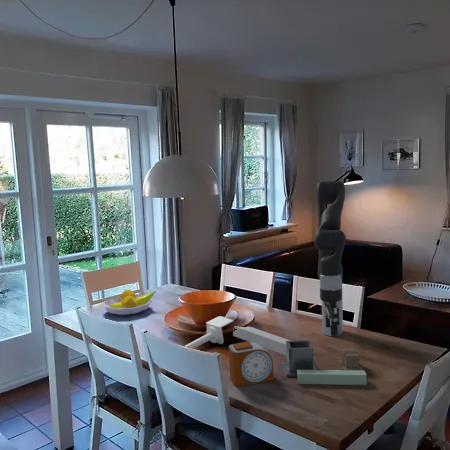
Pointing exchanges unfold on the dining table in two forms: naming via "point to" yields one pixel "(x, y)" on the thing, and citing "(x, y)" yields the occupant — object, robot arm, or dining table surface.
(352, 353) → the post
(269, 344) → the decorative molding
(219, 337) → the white mallet
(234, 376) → the alarm clock
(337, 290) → the robot arm
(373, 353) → the dining table surface
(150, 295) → the fruit bowl
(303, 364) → the cup bracket
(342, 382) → the green rail
